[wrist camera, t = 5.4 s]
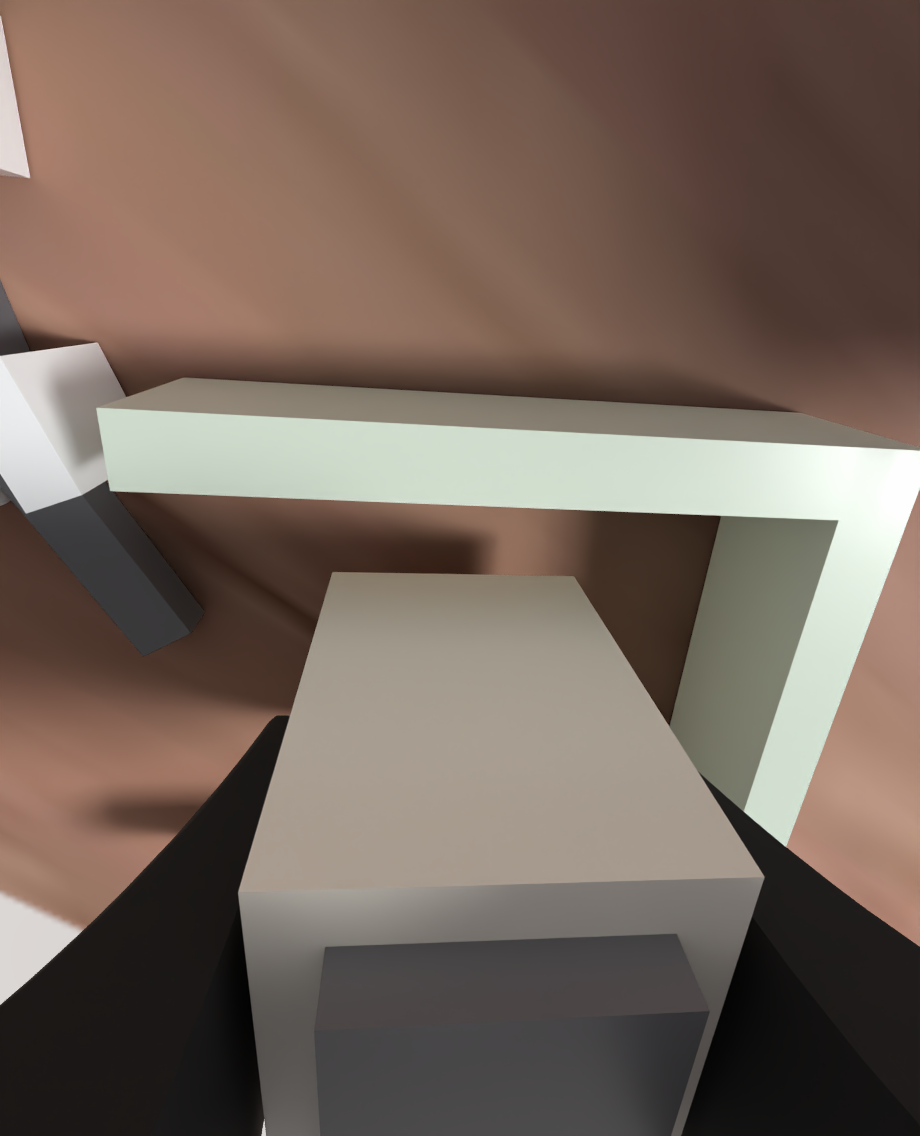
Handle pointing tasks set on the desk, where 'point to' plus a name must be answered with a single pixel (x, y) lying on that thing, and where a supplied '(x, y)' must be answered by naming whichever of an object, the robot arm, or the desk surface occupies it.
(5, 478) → the clips
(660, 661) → the desk surface
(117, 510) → the cable
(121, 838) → the desk surface
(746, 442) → the holder
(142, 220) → the desk surface
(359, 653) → the block
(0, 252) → the desk surface
